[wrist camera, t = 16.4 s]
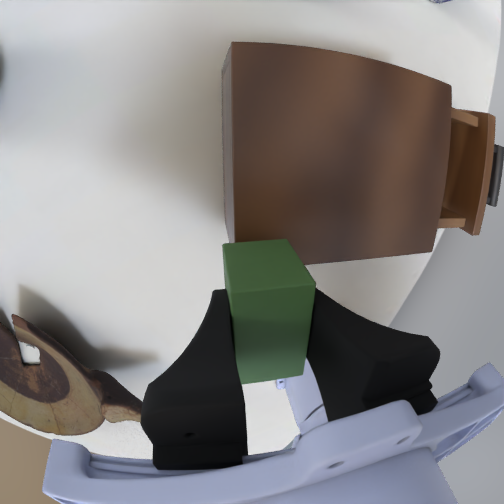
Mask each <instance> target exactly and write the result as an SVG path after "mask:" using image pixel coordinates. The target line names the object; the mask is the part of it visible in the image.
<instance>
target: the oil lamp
mask: <svg viewBox="0 0 504 504" xmlns="http://www.w3.org/2000/svg"><path fill="white" fill-rule="evenodd" d="M12 320H13V324H14V329H15V334H16V339H17V340H18V341H20V342H24V343H27V344H31V345H33V346H32V347H33V348H34V346H36V347H37V348H38V349H39V351H40V358H39V359H40V364H39V365H36V364H35V365H28V366H26V365H24V364H22V360H21V354H20V349H19V345H18V343H17V341H16V340H15V336H14V335H13V334H12V333H11V332H10V331H9V329H7V328H6V326H4V325H2V324H1V323H0V411H2V412H3V413H5V414H6V415H8V416H10V417H11V418H13V419H15V420H17V421H19V422H21V423H22V424H24V425H27V426H30V427H32V428H33V429H36V430H39V431H42V432H45V433H54V434H56V435H62V436H69V435H71V436H73V435H81V434H82V435H83V434H86V433H89V432H92V431H93V430H95V429H97V428H98V427H100V425H101V424H102V423H103V422H104V420H105V419H106V420H107V421H109V422H111V423H115V422H120V421H124V420H132V421H137V422H140V420H141V409H142V403H143V402H142V401H141V400H139V399H138V398H137V397H135V396H134V395H133V394H131V393H130V392H129V391H128V390H127V389H126V388H124V387H123V386H122V385H121V384H120V383H119V382H118V381H117V380H116V379H114V378H113V377H112V376H111V375H110V374H108V373H106V372H103V371H99V370H91V369H88V368H86V367H85V366H83V365H82V364H81V363H80V362H79V361H78V360H76V359H75V358H74V357H73V355H72V354H71V353H70V352H69V351H68V350H67V349H66V348H64V347H63V346H62V345H61V344H60V343H58V342H57V341H56V340H55V339H53V338H52V337H50V336H49V335H47V334H46V333H45V332H43V331H42V330H40V329H39V328H37V327H36V326H34V325H33V324H31V323H29V322H28V321H26V320H24V319H23V318H21V317H19V316H17V315H14V314H12ZM31 345H27V346H31Z"/></svg>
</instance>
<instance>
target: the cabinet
mask: <svg viewBox="0 0 504 504" xmlns="http://www.w3.org/2000/svg"><path fill="white" fill-rule="evenodd" d="M451 108H452V90H451V85H449V84H447V83H444V82H442V81H439V80H437V79H434V78H431V77H429V76H426V75H423V74H420V73H417V72H415V71H412V70H408V69H405V68H402V67H399V66H396V65H392V64H389V63H385V62H381V61H378V60H374V59H370V58H366V57H361V56H357V55H352V54H348V53H342V52H337V51H332V50H326V49H319V48H312V47H305V46H296V45H287V44H275V43H258V42H231V44H230V47H229V50H228V53H227V56H226V59H225V62H224V65H223V68H222V141H223V177H224V206H225V224H226V229H227V233H228V238H229V243H239V242H251V241H264V240H278V239H287V240H288V242H289V243H290V245H291V246H292V248H293V249H294V251H295V252H296V254H297V255H298V257H299V258H300V260H301V261H302V263H303V264H304V265H309V264H320V263H331V262H341V261H351V260H361V259H371V258H381V257H390V256H400V255H409V254H418V253H427V252H432V249H433V245H434V241H435V237H436V232H437V228H438V223H439V218H440V213H441V208H442V202H443V196H444V190H445V183H446V176H447V168H448V158H449V148H450V134H451Z"/></svg>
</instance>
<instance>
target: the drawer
mask: <svg viewBox="0 0 504 504" xmlns="http://www.w3.org/2000/svg"><path fill="white" fill-rule="evenodd" d="M494 138H495V116H493V115H491V114H489V113H483V112H476V111H469V110H461V109H455V108H451V134H450V148H449V158H448V168H447V176H446V183H445V190H444V196H443V202H442V208H441V213H440V218H439V223H438V228H455V227H456V228H457V227H459V228H460V229H462V230H464V231H466V232H467V233H469V234H470V235H472V236H473V235H479V233H480V229H481V225H482V221H483V216H484V212H485V207H486V204H488V205H491V206H494V207H496V206H497V201H498V195H499V189H500V183H501V177H502V169H503V160H504V147H502V146H499V145H496V144H494V140H495V139H494Z"/></svg>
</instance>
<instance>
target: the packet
mask: <svg viewBox="0 0 504 504" xmlns="http://www.w3.org/2000/svg"><path fill="white" fill-rule="evenodd" d="M222 247H223V262H224V276H225V289H227V293H228V298H229V304H230V315H231V328H232V341H233V348H234V354H235V359H236V363H237V368H238V373H239V377H240V381H241V384H248V383H256V382H264V381H271V380H277V379H283V378H289V377H295V376H301V375H303V372H304V366H305V360H306V354H307V347H308V341H309V334H310V327H311V320H312V312H313V304H314V296H315V288H316V282H315V281H314V279H313V278H312V276H311V275H310V273H309V272H308V270H307V269H306V267H305V266H304V264H303V263H302V261H301V260H300V258H299V257H298V255H297V254H296V252H295V251H294V249H293V248H292V246H291V245H290V243H289V242H288V240H287V239H278V240H264V241H251V242H239V243H226V244H223V245H222Z"/></svg>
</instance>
